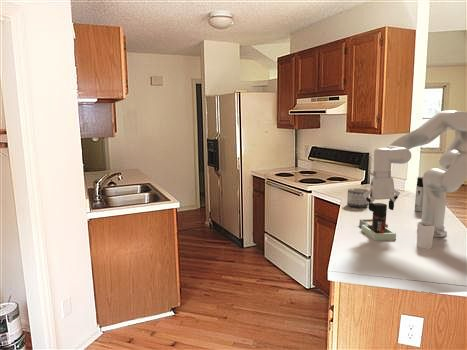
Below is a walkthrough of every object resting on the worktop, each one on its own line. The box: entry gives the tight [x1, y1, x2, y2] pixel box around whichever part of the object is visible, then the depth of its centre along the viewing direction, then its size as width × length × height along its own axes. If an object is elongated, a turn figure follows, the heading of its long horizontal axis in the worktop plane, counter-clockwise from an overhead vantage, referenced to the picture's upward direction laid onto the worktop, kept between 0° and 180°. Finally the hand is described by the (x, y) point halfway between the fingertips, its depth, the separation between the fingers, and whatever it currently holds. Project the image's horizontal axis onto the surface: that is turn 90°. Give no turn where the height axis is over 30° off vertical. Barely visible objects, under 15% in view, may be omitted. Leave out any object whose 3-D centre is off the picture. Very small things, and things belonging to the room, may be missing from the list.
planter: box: [346, 187, 370, 209], centre depth 222 cm, size 13×13×10 cm
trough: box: [361, 225, 397, 241], centre depth 167 cm, size 14×10×3 cm
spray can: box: [414, 176, 424, 213], centre depth 209 cm, size 7×7×20 cm
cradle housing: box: [358, 218, 389, 229], centre depth 178 cm, size 10×10×3 cm
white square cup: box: [416, 221, 435, 249], centre depth 152 cm, size 7×7×10 cm
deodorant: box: [372, 202, 388, 233], centre depth 167 cm, size 6×6×15 cm
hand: (381, 210), depth 166 cm, fingers open, 9 cm apart
